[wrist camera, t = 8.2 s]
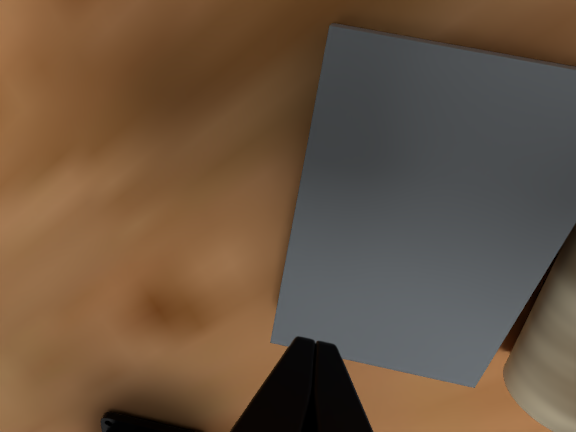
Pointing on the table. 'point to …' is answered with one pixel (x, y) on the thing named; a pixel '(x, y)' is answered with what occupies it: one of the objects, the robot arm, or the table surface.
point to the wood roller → (549, 349)
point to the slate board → (427, 201)
